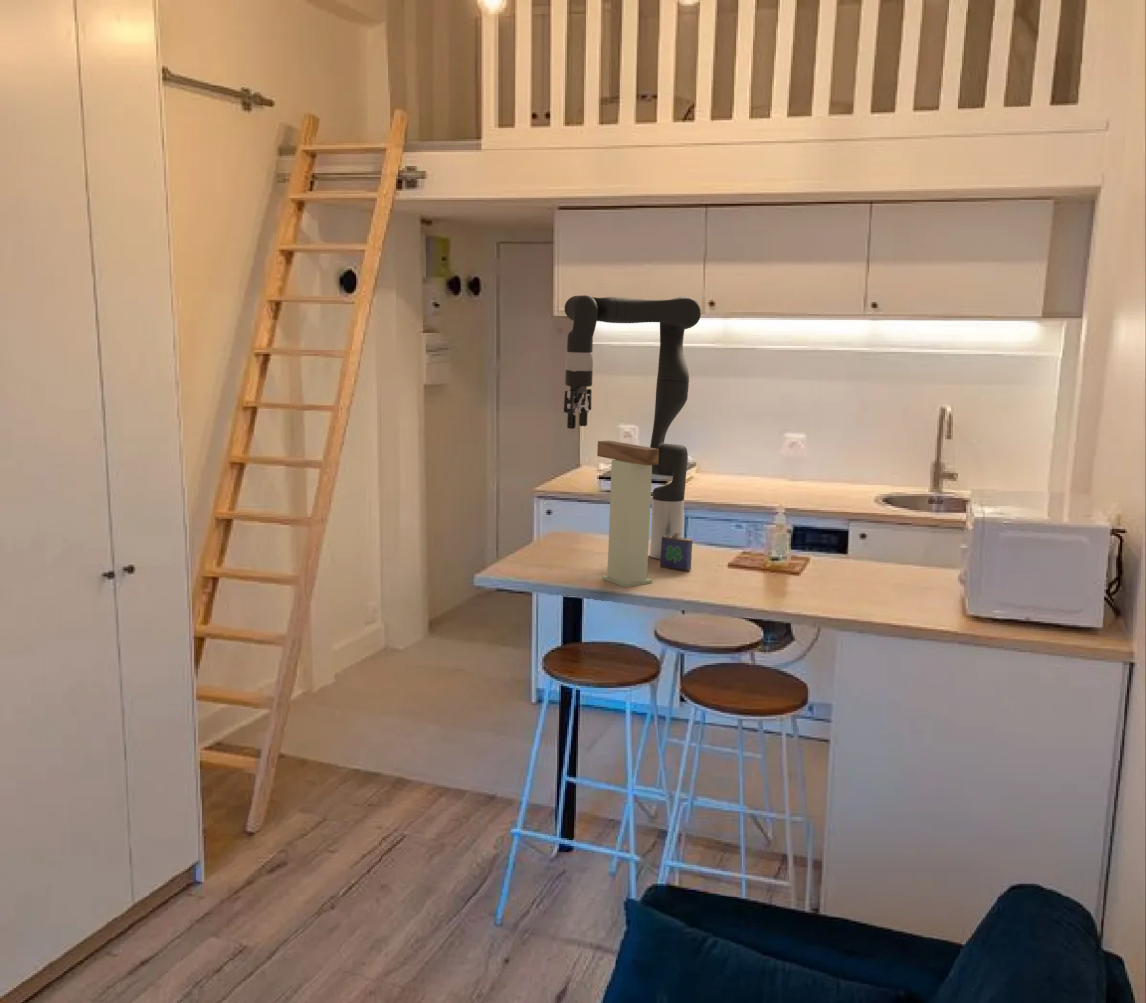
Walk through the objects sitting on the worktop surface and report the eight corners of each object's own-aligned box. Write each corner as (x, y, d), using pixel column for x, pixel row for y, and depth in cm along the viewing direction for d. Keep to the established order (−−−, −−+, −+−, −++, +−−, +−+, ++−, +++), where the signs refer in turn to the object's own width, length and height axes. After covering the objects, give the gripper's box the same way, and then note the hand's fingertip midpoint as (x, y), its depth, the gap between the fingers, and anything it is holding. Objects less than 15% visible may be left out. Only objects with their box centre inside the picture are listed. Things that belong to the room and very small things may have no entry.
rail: (608, 455, 274) (609, 440, 273) (658, 464, 258) (658, 449, 258) (597, 456, 272) (597, 441, 271) (646, 465, 256) (647, 449, 255)
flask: (692, 570, 283) (694, 532, 281) (688, 572, 280) (689, 534, 279) (662, 565, 287) (663, 528, 286) (657, 567, 285) (659, 530, 283)
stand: (627, 574, 276) (632, 457, 270) (652, 582, 268) (657, 462, 262) (602, 578, 270) (606, 459, 265) (626, 587, 262) (631, 464, 257)
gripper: (576, 367, 289) (574, 424, 292) (556, 368, 276) (554, 428, 279) (601, 368, 286) (599, 426, 289) (581, 370, 273) (579, 430, 276)
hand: (577, 427), depth 284 cm, fingers open, 8 cm apart
